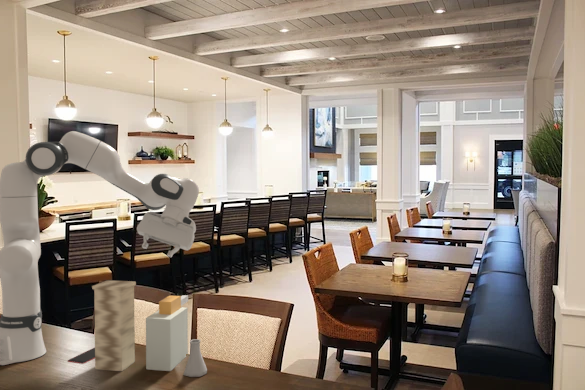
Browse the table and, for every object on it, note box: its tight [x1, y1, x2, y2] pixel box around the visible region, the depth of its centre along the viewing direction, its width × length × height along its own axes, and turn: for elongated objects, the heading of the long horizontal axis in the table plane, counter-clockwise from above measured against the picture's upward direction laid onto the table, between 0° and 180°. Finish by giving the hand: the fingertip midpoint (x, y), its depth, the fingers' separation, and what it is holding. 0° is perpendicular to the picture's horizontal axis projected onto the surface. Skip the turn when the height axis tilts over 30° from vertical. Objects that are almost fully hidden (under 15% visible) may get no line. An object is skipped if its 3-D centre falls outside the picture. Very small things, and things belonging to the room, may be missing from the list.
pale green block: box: [145, 306, 189, 372], centre depth 162 cm, size 8×14×16 cm, turn 170°
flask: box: [183, 338, 208, 378], centre depth 153 cm, size 7×7×10 cm
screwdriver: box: [158, 294, 189, 315], centre depth 168 cm, size 17×4×4 cm, turn 170°
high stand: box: [91, 279, 137, 372], centre depth 159 cm, size 10×8×26 cm
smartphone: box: [67, 347, 95, 365], centre depth 168 cm, size 7×1×14 cm
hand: (156, 252), depth 175 cm, fingers open, 8 cm apart
